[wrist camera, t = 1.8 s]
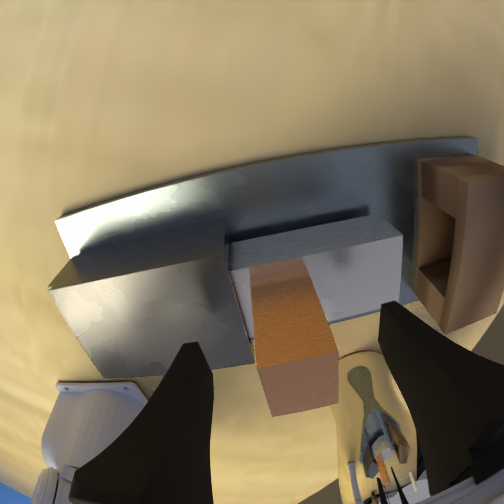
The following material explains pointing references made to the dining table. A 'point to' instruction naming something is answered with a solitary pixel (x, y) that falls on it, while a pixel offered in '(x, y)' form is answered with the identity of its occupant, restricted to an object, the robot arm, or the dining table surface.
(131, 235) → the outer sleeve
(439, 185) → the socket block
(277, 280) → the grey slider with handle
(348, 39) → the dining table surface
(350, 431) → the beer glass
